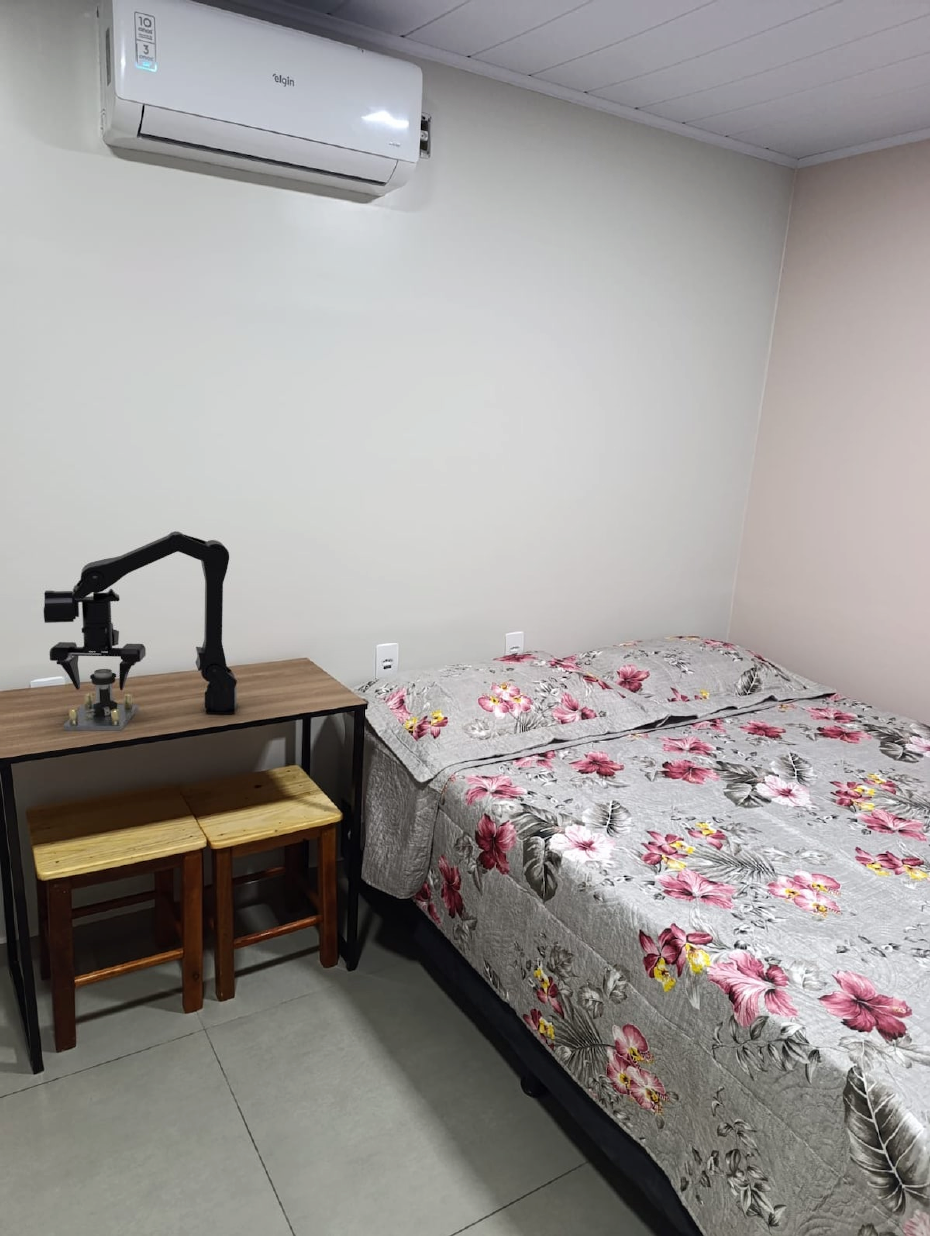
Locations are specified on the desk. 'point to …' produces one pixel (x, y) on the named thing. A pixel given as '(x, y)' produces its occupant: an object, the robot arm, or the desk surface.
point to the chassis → (105, 722)
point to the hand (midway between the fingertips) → (100, 689)
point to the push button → (103, 692)
